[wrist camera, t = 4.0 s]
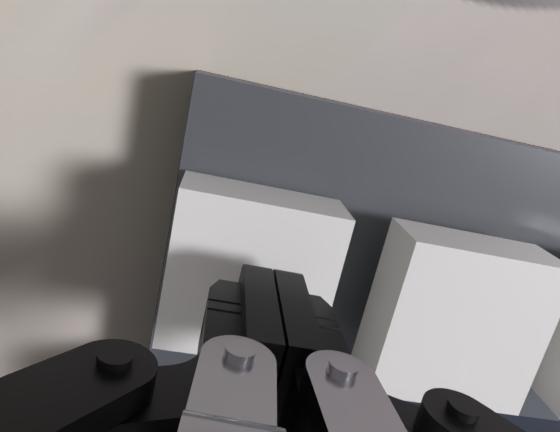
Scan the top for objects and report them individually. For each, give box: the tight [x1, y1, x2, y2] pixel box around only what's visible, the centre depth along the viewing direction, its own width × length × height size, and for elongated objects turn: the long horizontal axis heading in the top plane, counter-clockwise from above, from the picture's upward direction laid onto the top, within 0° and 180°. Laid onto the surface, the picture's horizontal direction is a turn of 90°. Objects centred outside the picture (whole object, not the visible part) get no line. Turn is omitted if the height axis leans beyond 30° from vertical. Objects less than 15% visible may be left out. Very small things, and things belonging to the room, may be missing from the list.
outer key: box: [152, 170, 356, 355], centre depth 14 cm, size 5×5×2 cm
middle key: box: [351, 217, 560, 416], centre depth 14 cm, size 5×5×2 cm
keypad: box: [149, 70, 560, 432], centre depth 16 cm, size 17×12×5 cm
